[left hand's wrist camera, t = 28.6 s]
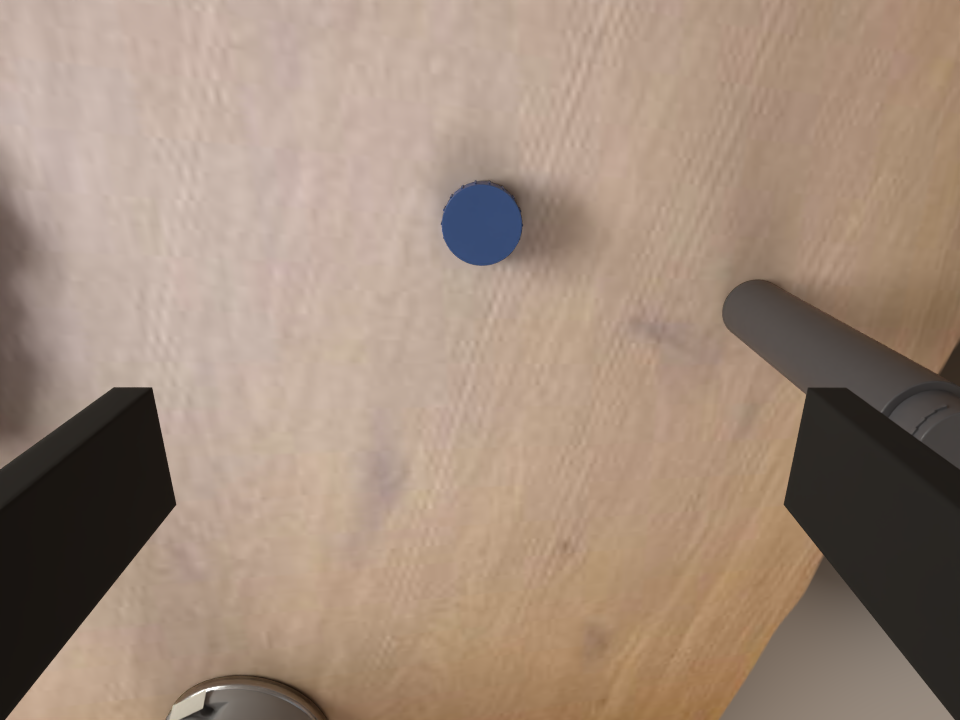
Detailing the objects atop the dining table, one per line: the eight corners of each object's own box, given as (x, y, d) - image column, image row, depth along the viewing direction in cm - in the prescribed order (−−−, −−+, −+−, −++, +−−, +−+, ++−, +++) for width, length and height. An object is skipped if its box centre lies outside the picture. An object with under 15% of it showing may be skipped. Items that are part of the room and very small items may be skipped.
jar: (713, 296, 43) (893, 430, 24) (772, 268, 42) (1004, 384, 23) (733, 347, 44) (919, 511, 25) (790, 321, 43) (1024, 469, 25)
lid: (519, 259, 42) (521, 267, 40) (442, 258, 42) (440, 265, 40) (522, 180, 40) (525, 184, 38) (442, 179, 40) (440, 182, 38)
